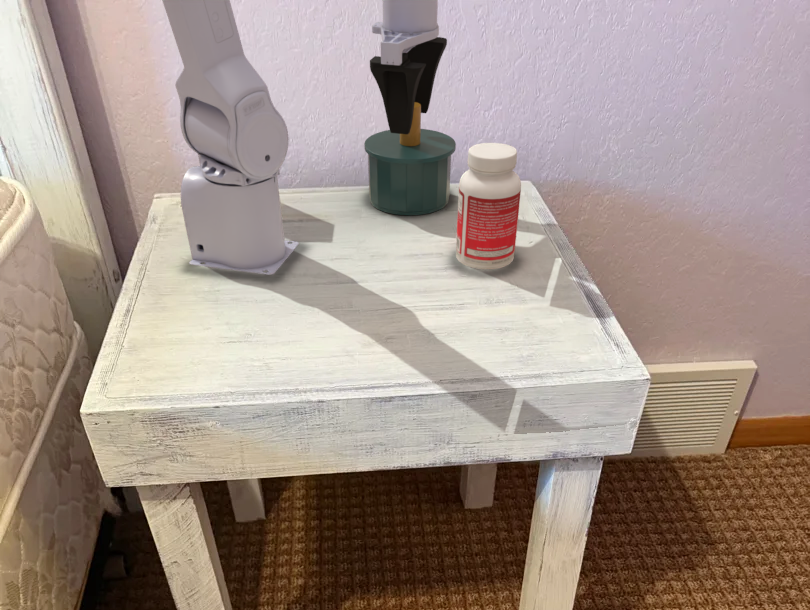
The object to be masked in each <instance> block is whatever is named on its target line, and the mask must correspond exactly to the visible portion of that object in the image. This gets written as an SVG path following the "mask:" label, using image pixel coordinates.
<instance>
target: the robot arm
mask: <svg viewBox="0 0 810 610" xmlns="http://www.w3.org/2000/svg"><path fill="white" fill-rule="evenodd" d="M161 1H162V3H163V7H164V10H165V13H166V16H167V19H168V22H169V26H170V28H171V31H172V35H173V37H174V40H175V43H176V46H177V49H178V52H179V56H180V59H181V61H182V64H183V69H182V71H181V73H180V74H179V75H178V77H177V79H176V81H175V83H174V84H175V89H176V92H177V95H178V99H179V104H180V105H179V106H180V113H179V118H180V119H179V124H180V130H181V134H182V136H183V139H184V141H185V143H186V144H187V146H188V147H189V148H190V149H191V151H193V152H194V153H195V154H197V156H198V162H199V165H194V166H190V167H189V168H188V169H187V170H186V171H185V173H184V176H183V178H182V180H181V185H180V204H181V210H182V215H183V221H184V226H185V229H186V235H187V240H188V245H189V250H190V254H191V255H190V256H191V260H190V261H189V262H188V264H189V265H192V266H199V267H205V268H214V269H221V270H228V271H236V272H244V273H251V274H260V275H267V276H271V275H274V274H275V273H276V272H277V271H278V270H279V269H280V267H281V266H283V264H284V263H285V261H286V260H287V259H288V258H289V257H290V256H291V255H292V253H293V252H294V251H295V250H296V249H297V247H298V246H299V245H300V243H299V241H295V240H287V239H285V232H284V224H283V215H282V205H281V196H280V187H279V178H278V176H280V174H281V173H280V172H281V171H280V168H281V167H282V166H283V163H284V162H285V160H286V157H287V154H288V150H289V131H288V126H287V124H286V120H285V119H284V117H283V116H282V114H281V113H280V112H279V110H277V109H276V107H275V105H274V104H273V101H272V98H271V95H270V91H269V87H268V85H267V83H266V82H265V81H264V80H263V78H262V77H261V75H260V74H259V72H258V71H257V70H256V69H255V67H254V66H253V65H252V64H251V63H250V61H249V60H248V58H247V57H246V55H245V53H244V48H243V44H242V40H241V38H240V33H239V29H238V25H237V22H236V19H235V14H234V11H233V8H232V3H231V0H161ZM381 2H382V21H377V22H375V23H373V24H372V25H371V33H372V34H375V35H380V36H381V42H380V55H379V56H378V55H375V56H372V58H371V59H369V70H370V72H371V74H372V76H373V78H374V80H375V82H376V84H377V86H378V89H379V92H380V95H381V99H382V102H383V106H384V111H385V116H386V120H387V124H388V128H389V130H390V132H391V133H397V134H409V133H410V129H411V125H412V120H413V112H414V103H415V102H417V103H419V104H421V114H427V113H428V111H429V109H430V103H431V99H432V94H433V88H434V83H435V78H436V74H437V71H438V67H439V65H440V61H441V59H442V56H443V54H444V52H445V50H446V48H447V45H448V39H447V38H446V37H441V36H439V35H440V26H439V24H438V10H439V9H438V7H439V6H438V3H439V0H382V1H381Z"/></svg>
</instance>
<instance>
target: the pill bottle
mask: <svg viewBox="0 0 810 610" xmlns="http://www.w3.org/2000/svg"><path fill="white" fill-rule="evenodd" d="M517 159H518V150H517V148H516V147H514V146H512V145H509V144H506V143H501V142H482V143H477V144H473V145H471V147H469V149H468V152H467V163H466V164H467V167H468V169H467V170H466V171H465V172H463V174H462V175H461V177H460V179H459V183H458V196H457V197H458V199H457V218H456V219H457V220H456V221H457V222H456V241H455V242H456V245H455V257H456V259H457V261H458V262H459V263H461V265H464V266H466V267H468V268H472V269H477V270H498V269H501V268H504V267H507V266H509V265H510V264H512V263H513V261H514V259H515V251H516V241H517V234H518V233H517V231H518V224H519V223H518V222H519V212H520V202H521V191H522V181H521V178H520V176H519V174H518V173H516V171H514V169H516V166H517V163H518V161H517Z"/></svg>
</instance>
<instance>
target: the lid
mask: <svg viewBox="0 0 810 610" xmlns="http://www.w3.org/2000/svg"><path fill="white" fill-rule="evenodd" d="M421 118H422V113H421V104H419V103H417V102H415V103H414V112H413V120H412V125H411V129H410V133H409V134H397V133H391V132H390V129H387V130H382V131H379V132H376V133H374V134H371V135H370V136H368V137H367V138H366V139H365V141H364V145H363V146H364V151H365V153H366V154H367V155H368V154H369V155H370V156H372V157H374V158H376V159H379V160H382V161H386V162H391V163H400V164H421V163H429V162H434V161H439V160H442V159H445V158H447V157H449V156H450V155H451V156H452V155H453V154H454V153H455V152H456V149H457V143H456V141H455V139H454V138H453V137H452V136H450V135H448V134H446V133H443V132H440V131H437V130H434V129H433V130H432V129H427V128H421V126H422V119H421Z"/></svg>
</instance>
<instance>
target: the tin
mask: <svg viewBox="0 0 810 610" xmlns="http://www.w3.org/2000/svg"><path fill="white" fill-rule="evenodd" d="M451 169H452V155H450V156H449V157H447V158H445V159H442V160H439V161H434V162H429V163H421V164H400V163H391V162H386V161H382V160H379V159H376V158H374V157H372V156H370V155H369V154H367V170H368V196H369V202H370V204H371V206H372V207H374V208H375V209H377V210H379V211H381V212H384V213H386V214H391V215H396V216H397V215H398V216H421V215H427V214H432V213H435V212H438V211H441V210H442V209H444V208H445V207H446V206H447V205H448V204H449V198H450V193H451V188H450V187H451Z"/></svg>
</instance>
